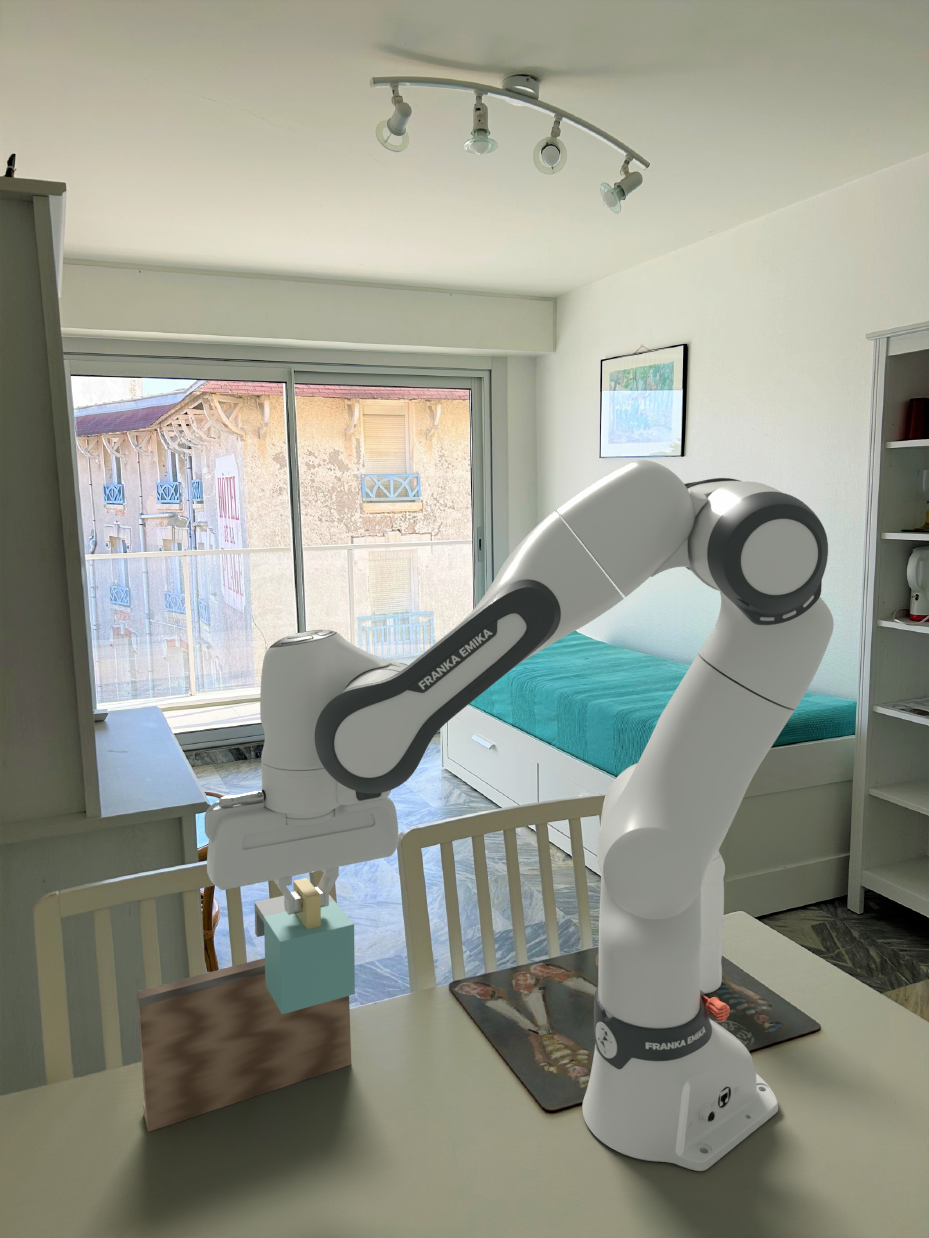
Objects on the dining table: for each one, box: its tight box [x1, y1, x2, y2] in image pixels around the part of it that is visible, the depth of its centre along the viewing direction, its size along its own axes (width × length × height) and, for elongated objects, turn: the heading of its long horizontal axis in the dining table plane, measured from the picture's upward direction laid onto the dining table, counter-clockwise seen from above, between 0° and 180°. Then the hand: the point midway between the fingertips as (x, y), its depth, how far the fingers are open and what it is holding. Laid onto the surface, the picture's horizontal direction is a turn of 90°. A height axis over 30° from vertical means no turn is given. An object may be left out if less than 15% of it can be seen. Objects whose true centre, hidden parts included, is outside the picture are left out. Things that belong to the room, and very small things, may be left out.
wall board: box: [136, 957, 352, 1133], centre depth 104 cm, size 24×3×16 cm, turn 118°
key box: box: [254, 877, 356, 1014], centre depth 96 cm, size 8×10×12 cm
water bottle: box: [700, 849, 726, 995], centre depth 124 cm, size 7×7×25 cm
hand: (306, 908), depth 94 cm, fingers closed on key box
